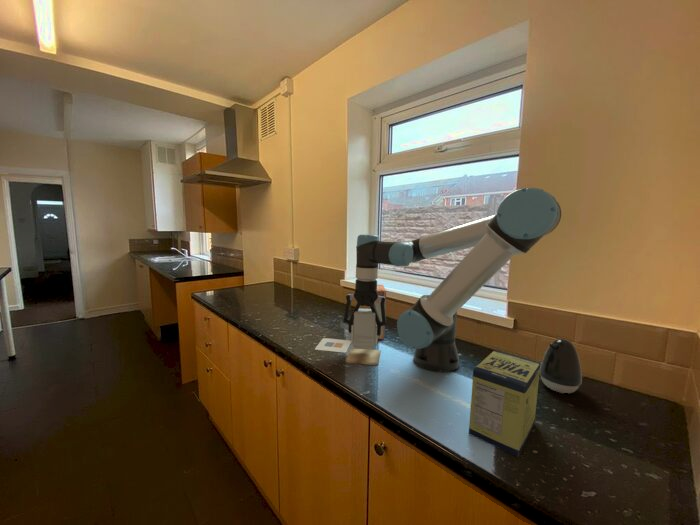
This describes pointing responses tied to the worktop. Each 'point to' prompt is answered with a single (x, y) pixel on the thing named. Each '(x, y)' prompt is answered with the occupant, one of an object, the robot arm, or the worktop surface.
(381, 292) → the cracker box
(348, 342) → the tile
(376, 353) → the oak coaster
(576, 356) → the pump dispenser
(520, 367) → the protein box
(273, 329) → the worktop surface
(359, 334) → the supplement box
